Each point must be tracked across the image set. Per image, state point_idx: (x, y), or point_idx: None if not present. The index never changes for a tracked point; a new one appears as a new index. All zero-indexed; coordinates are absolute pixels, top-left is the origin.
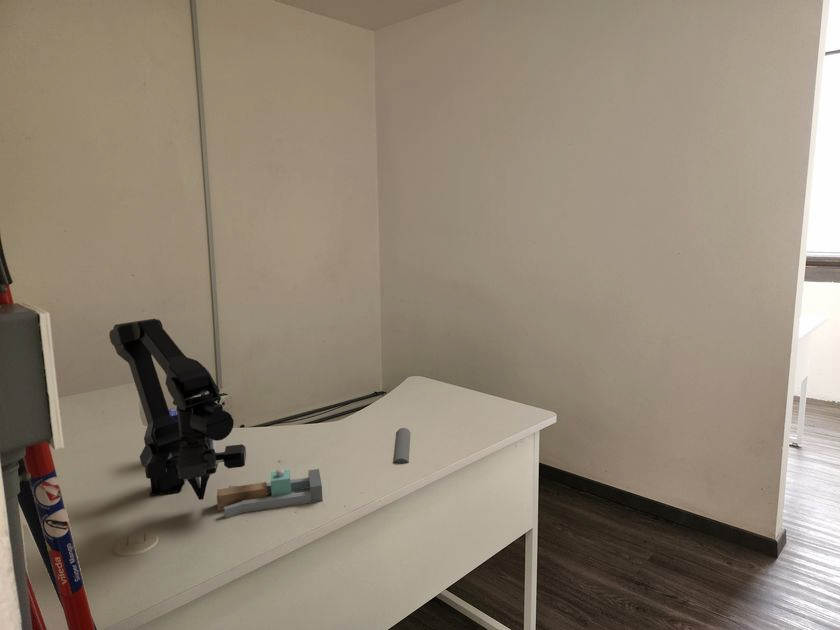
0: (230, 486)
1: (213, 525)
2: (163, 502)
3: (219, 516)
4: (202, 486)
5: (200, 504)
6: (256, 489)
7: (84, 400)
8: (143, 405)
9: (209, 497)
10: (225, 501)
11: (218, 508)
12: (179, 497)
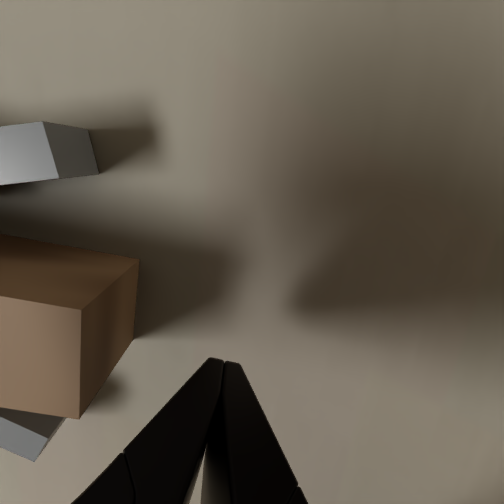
0: (26, 449)
1: (178, 62)
2: (404, 479)
3: (132, 177)
4: (172, 460)
5: None
6: None
7: None
8: None
9: None
10: (51, 271)
11: (130, 264)
12: (324, 487)
